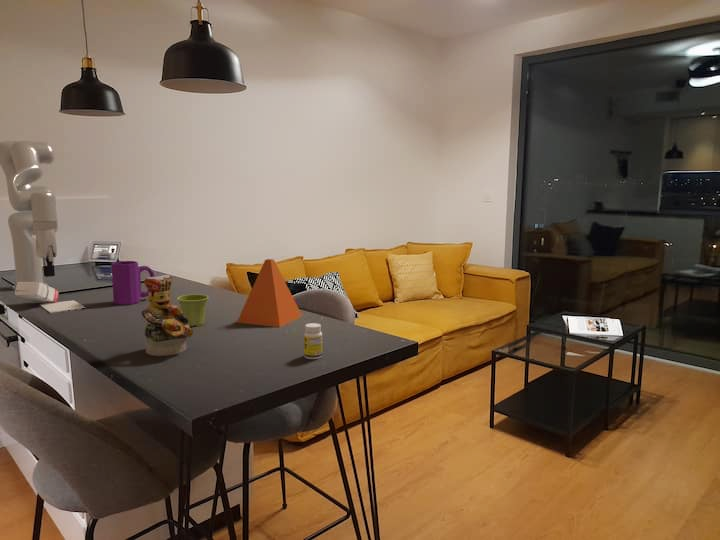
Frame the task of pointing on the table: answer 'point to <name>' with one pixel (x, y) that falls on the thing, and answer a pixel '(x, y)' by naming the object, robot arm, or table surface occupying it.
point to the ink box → (36, 292)
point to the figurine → (164, 320)
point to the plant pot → (193, 308)
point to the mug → (128, 282)
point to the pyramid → (269, 299)
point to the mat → (61, 306)
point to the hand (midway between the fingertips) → (49, 276)
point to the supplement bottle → (313, 341)
